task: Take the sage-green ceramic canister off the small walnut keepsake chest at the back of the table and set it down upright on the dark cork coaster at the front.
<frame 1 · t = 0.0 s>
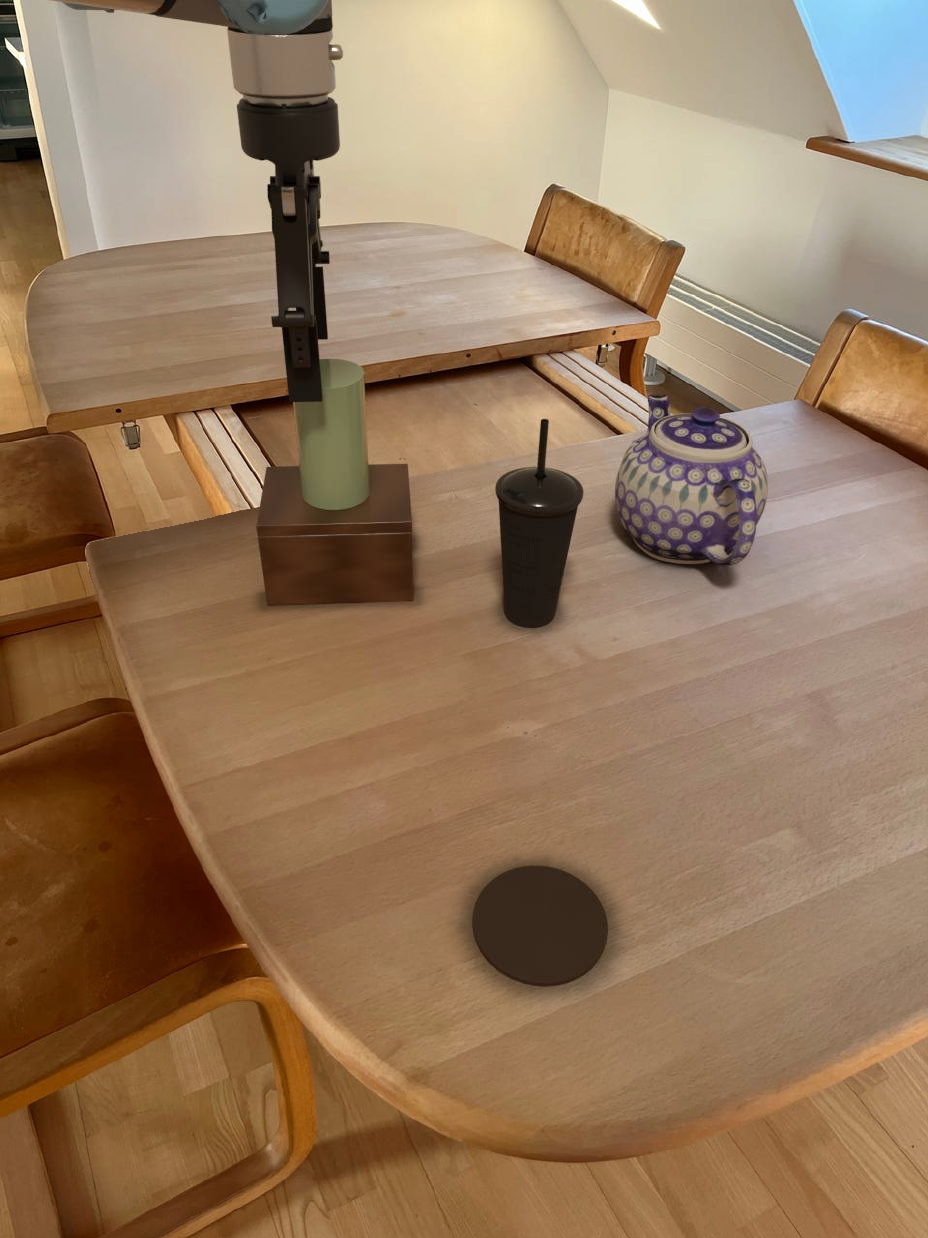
hand: (310, 367, 83), 21 cm above the table, tool pointing down, fingers open, 13 cm apart
drinking cup: (529, 614, 90), on the table
teapot: (680, 540, 100), on the table
canister: (336, 492, 89), point 9 cm above the table, touching walnut keepsake chest
walnut keepsake chest: (341, 570, 94), on the table
coaster: (539, 924, 62), on the table
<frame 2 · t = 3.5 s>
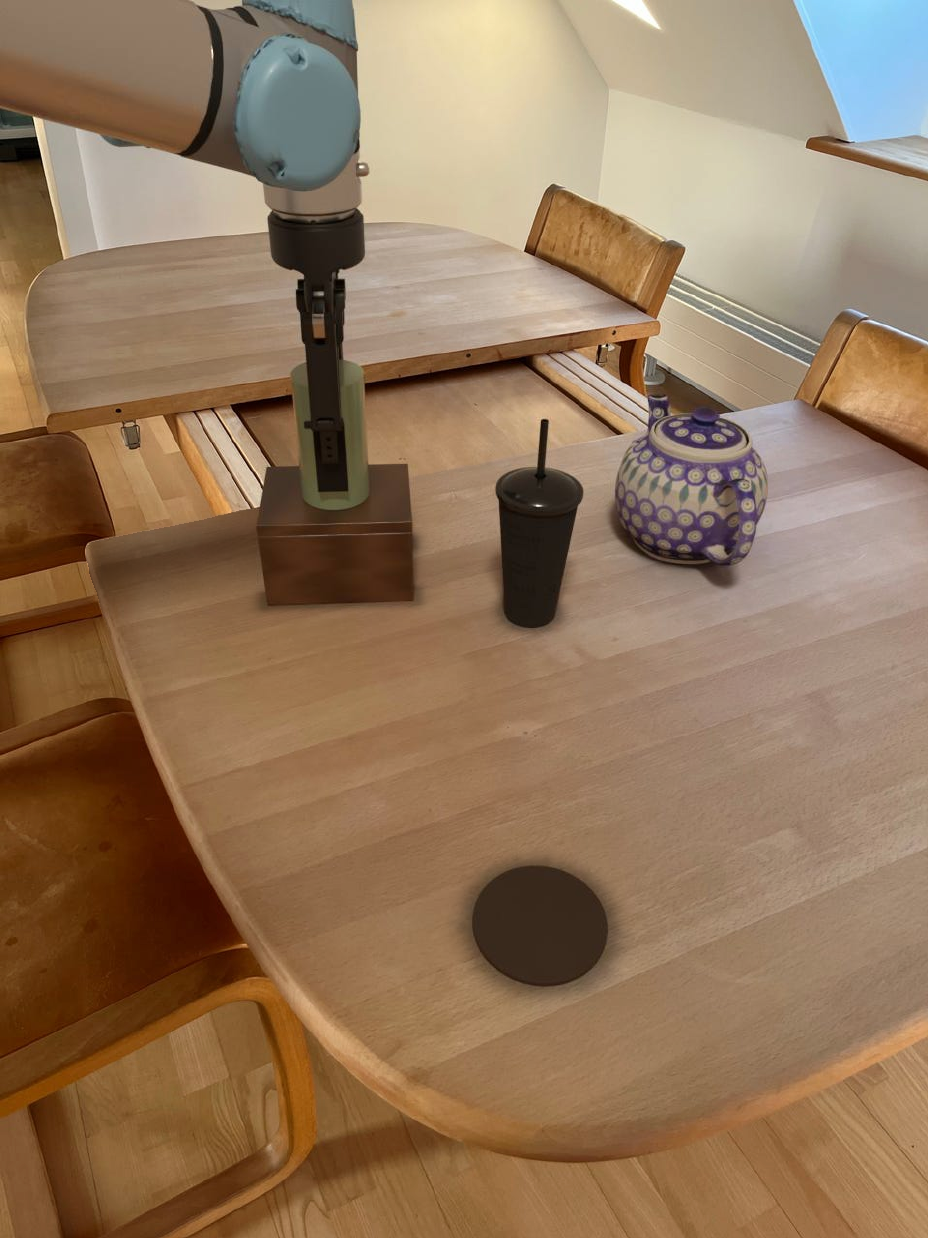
hand: (334, 469, 87), 11 cm above the table, tool pointing down, fingers closed on canister, 6 cm apart
canister: (336, 492, 89), point 9 cm above the table, touching gripper, walnut keepsake chest
everything else where it was.
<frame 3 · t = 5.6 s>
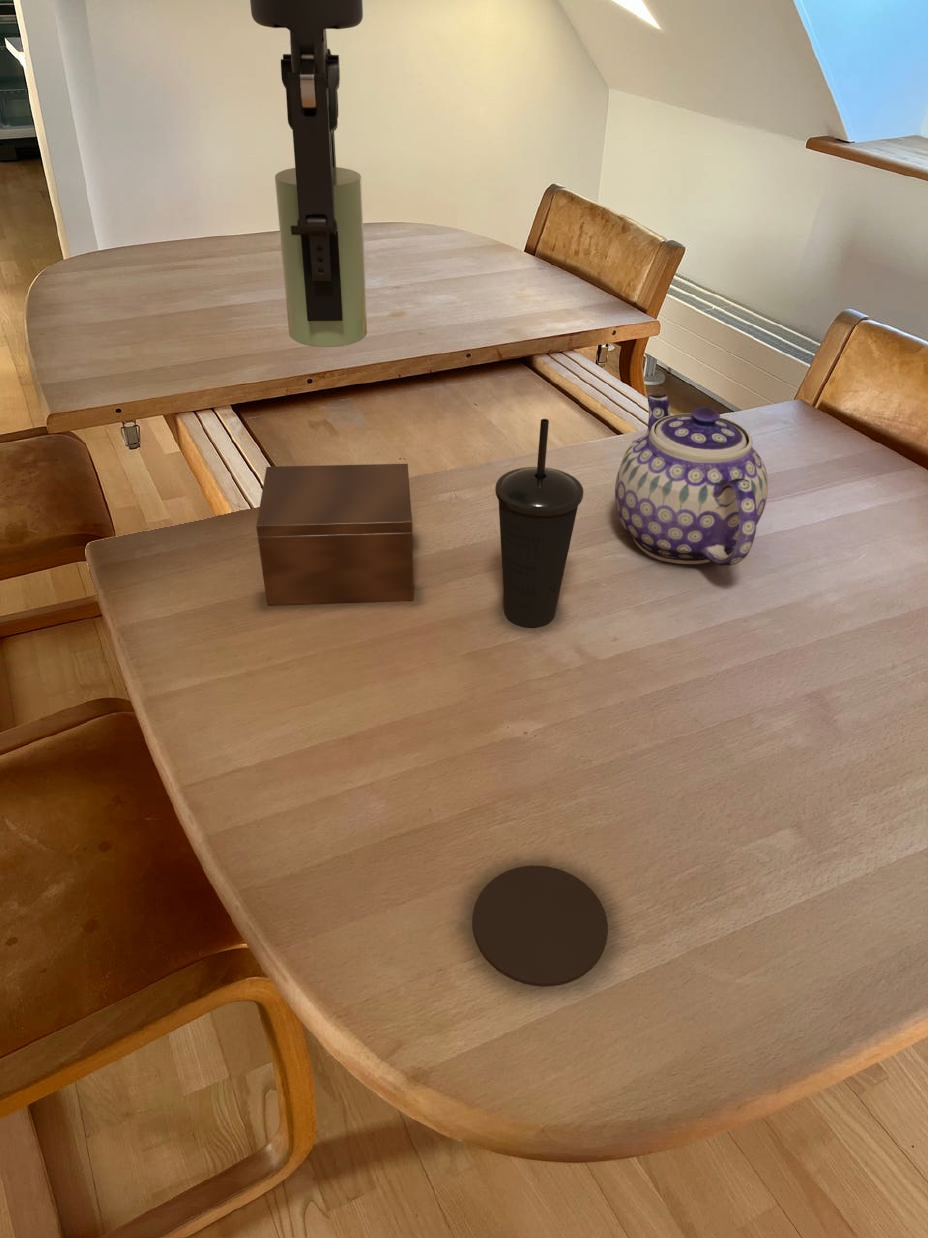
hand: (326, 302, 76), 28 cm above the table, tool pointing down, fingers closed on canister, 6 cm apart
canister: (328, 332, 77), point 25 cm above the table, touching gripper
everything else where it was.
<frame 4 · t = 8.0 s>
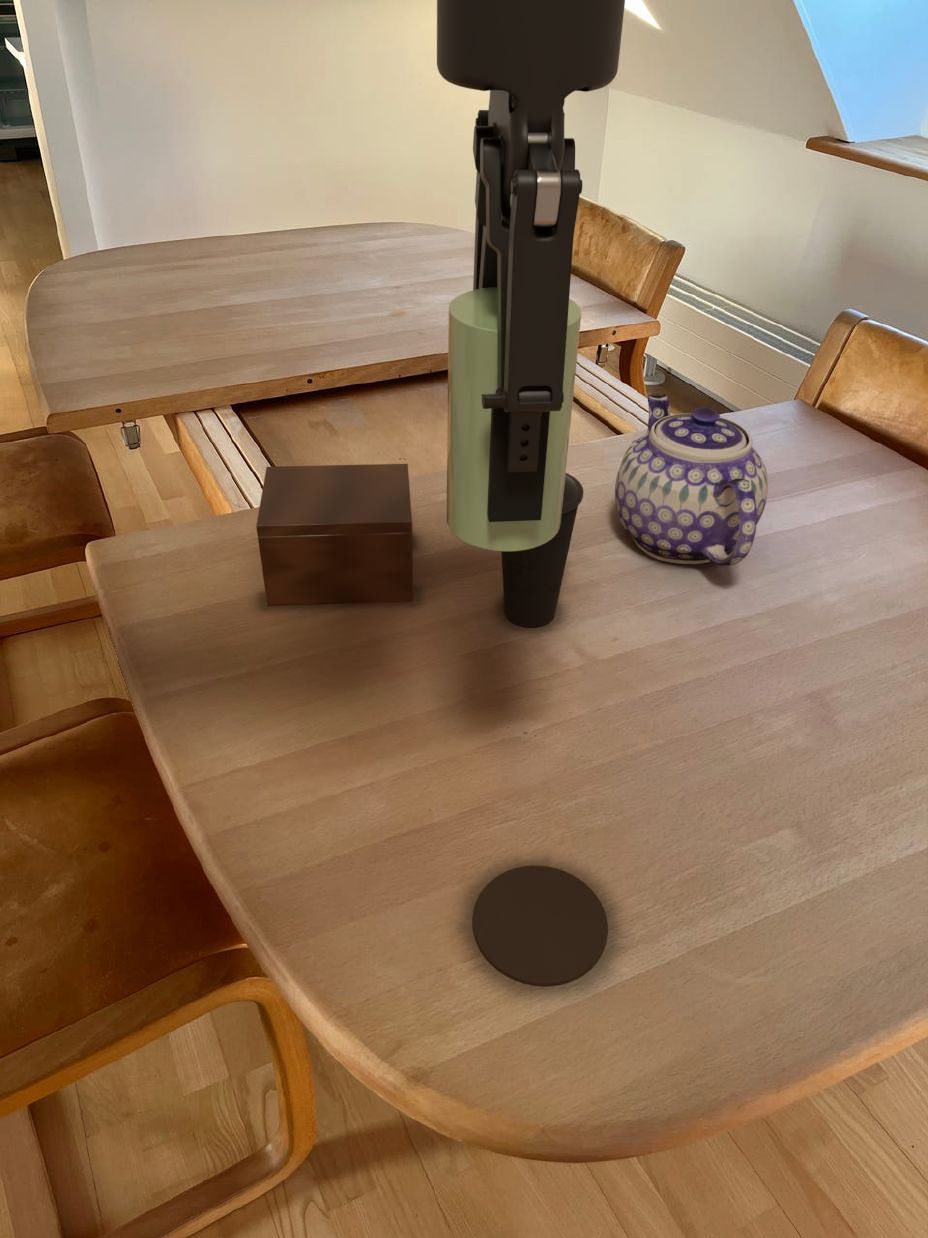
hand: (504, 482, 51), 29 cm above the table, tool pointing down, fingers closed on canister, 6 cm apart
canister: (503, 520, 52), point 27 cm above the table, touching gripper
everything else where it was.
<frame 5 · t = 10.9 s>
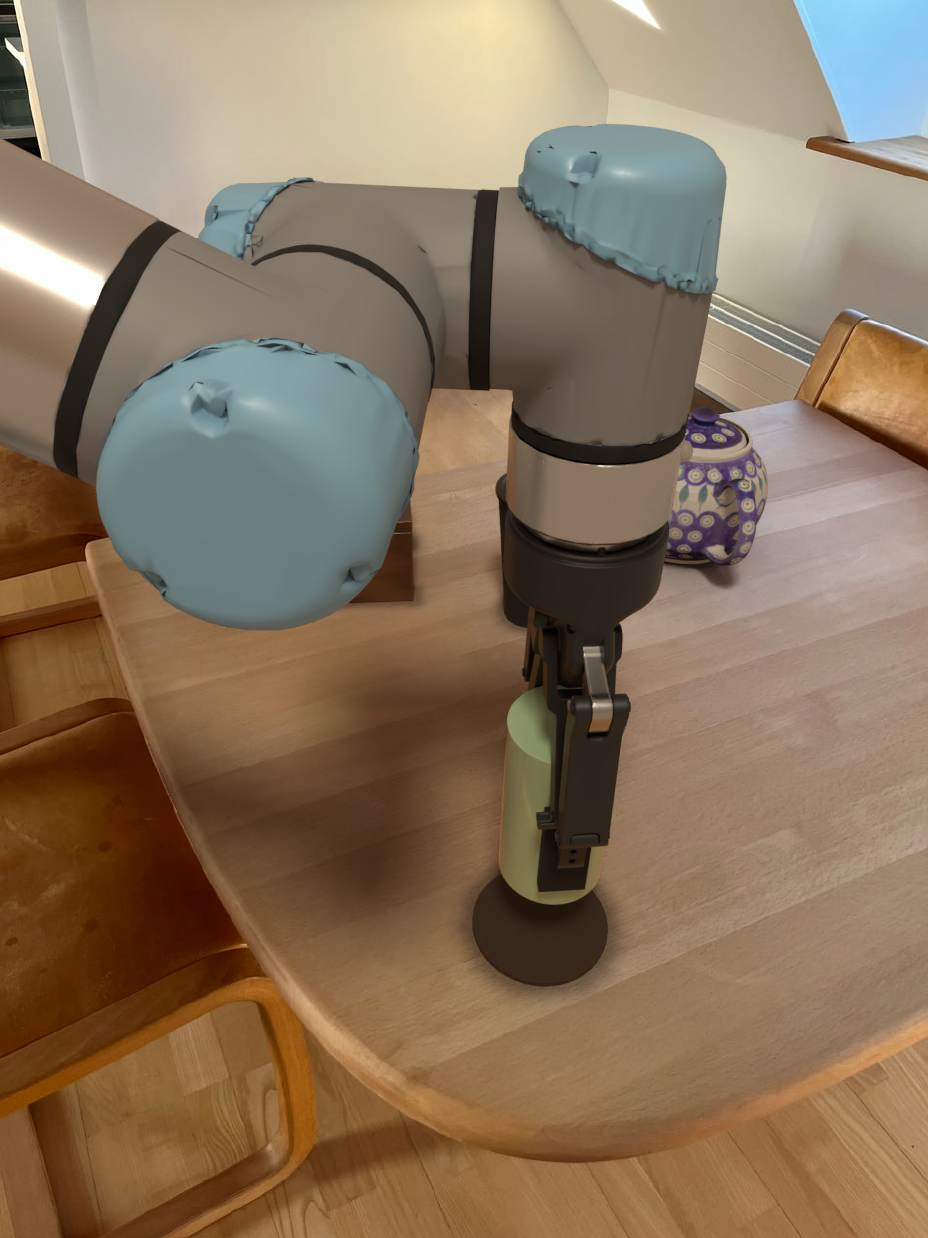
hand: (551, 836, 57), 9 cm above the table, tool pointing down, fingers closed on canister, 6 cm apart
canister: (549, 861, 58), point 7 cm above the table, touching gripper
everything else where it was.
when the fingers open (3 cm above the table, at t = 12.8 s): canister stays where it is, resting on coaster.
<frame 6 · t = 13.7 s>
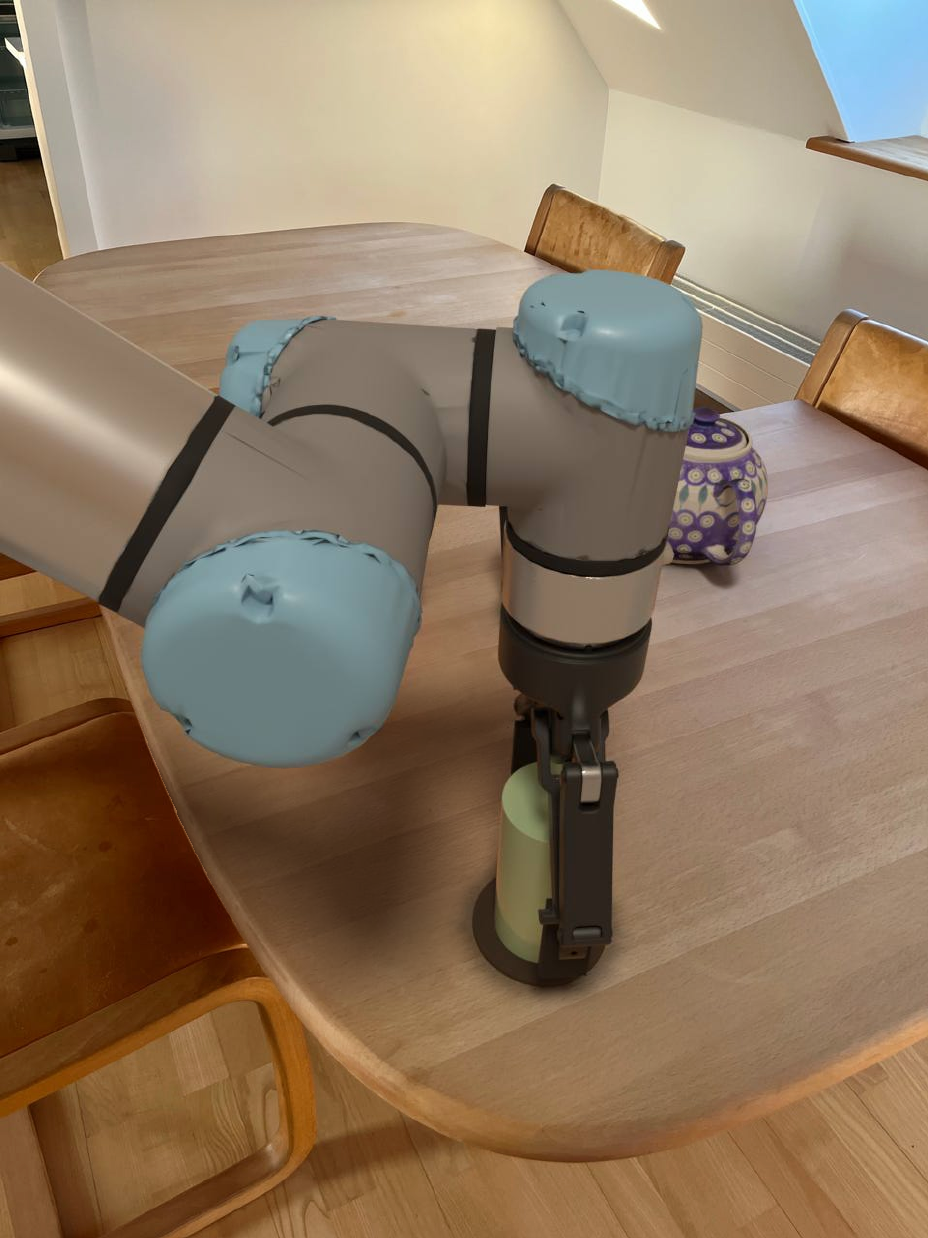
hand: (544, 873, 59), 5 cm above the table, tool pointing down, fingers open, 13 cm apart
canister: (541, 920, 62), resting on coaster
everything else where it was.
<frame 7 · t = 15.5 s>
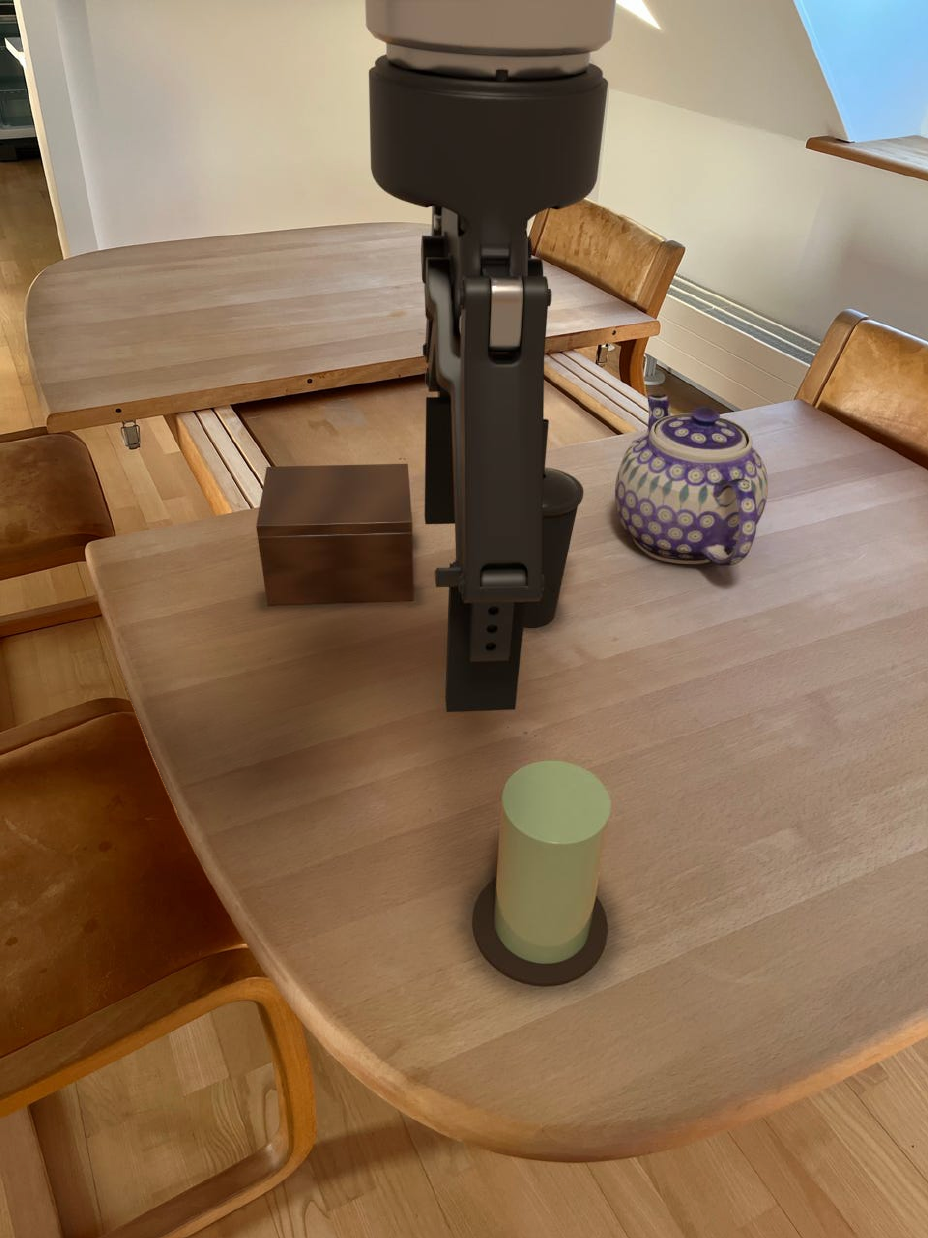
hand: (463, 601, 42), 29 cm above the table, tool pointing down, fingers open, 13 cm apart
nothing on the table moved.
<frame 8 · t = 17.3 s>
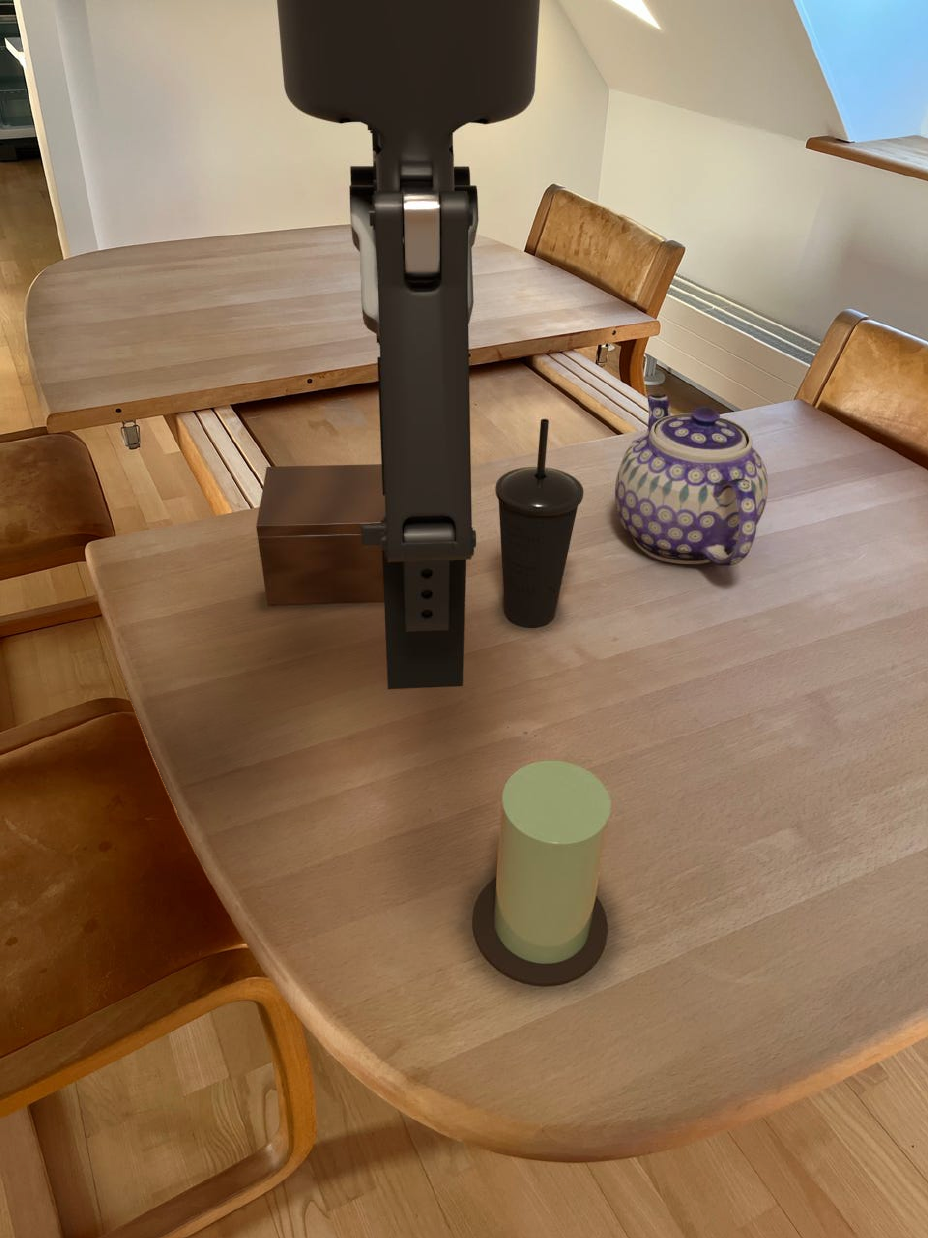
hand: (417, 573, 39), 32 cm above the table, tool pointing down, fingers open, 13 cm apart
nothing on the table moved.
at the end: canister 0.1 cm off-centre on the coaster, point 0.4 cm above the coaster's base; canister tilted 0°; the gripper is holding nothing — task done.
